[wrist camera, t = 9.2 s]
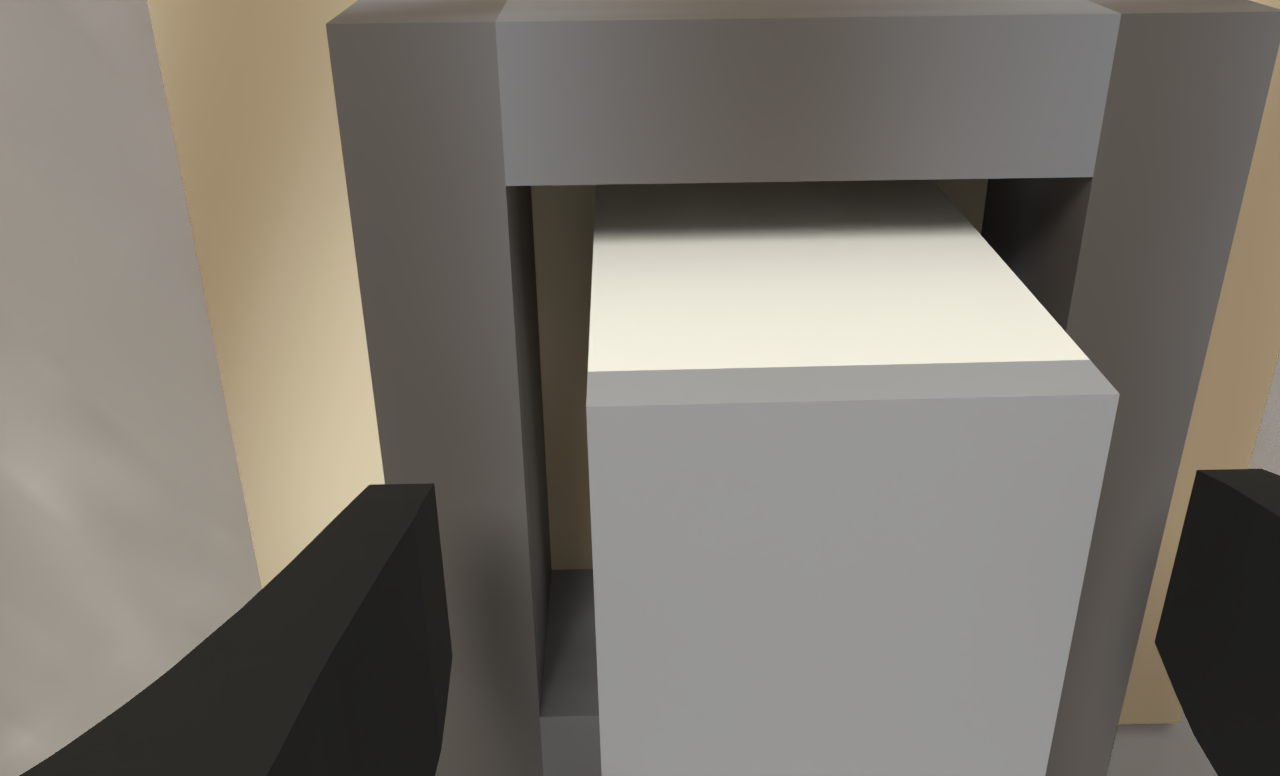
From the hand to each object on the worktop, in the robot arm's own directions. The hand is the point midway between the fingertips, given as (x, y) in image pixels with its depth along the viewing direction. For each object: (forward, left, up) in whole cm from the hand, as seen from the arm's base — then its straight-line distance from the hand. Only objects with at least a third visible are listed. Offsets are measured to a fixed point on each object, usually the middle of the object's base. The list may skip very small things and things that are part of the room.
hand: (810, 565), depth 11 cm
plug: (0, 0, -5) cm, 5 cm away
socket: (0, 0, -5) cm, 5 cm away
